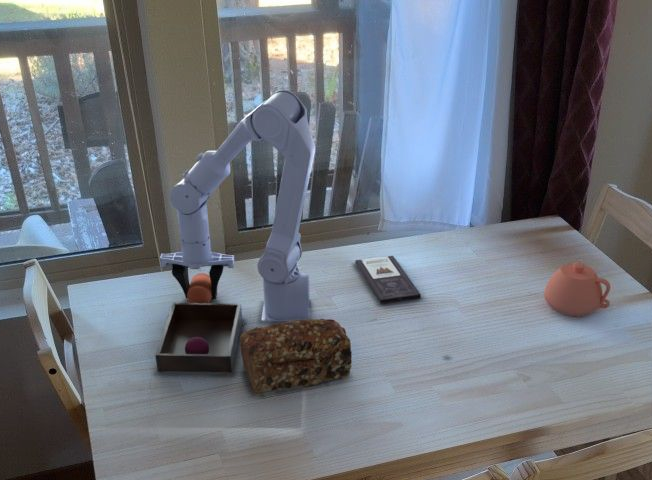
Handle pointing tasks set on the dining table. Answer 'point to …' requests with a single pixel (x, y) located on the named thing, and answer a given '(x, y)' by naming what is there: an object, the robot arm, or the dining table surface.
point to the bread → (295, 354)
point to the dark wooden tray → (200, 321)
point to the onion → (197, 346)
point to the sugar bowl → (576, 290)
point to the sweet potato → (200, 289)
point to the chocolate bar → (387, 279)
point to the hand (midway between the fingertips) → (201, 296)
